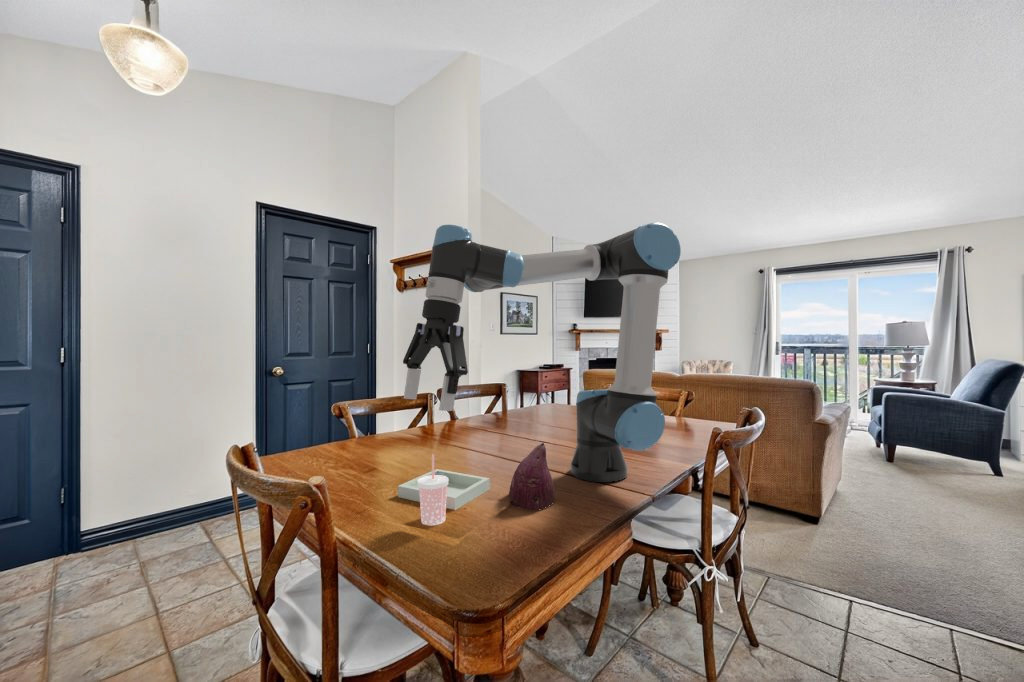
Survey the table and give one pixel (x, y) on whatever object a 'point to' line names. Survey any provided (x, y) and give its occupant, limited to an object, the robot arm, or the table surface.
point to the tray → (450, 488)
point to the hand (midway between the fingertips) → (426, 404)
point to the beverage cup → (433, 497)
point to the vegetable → (532, 482)
